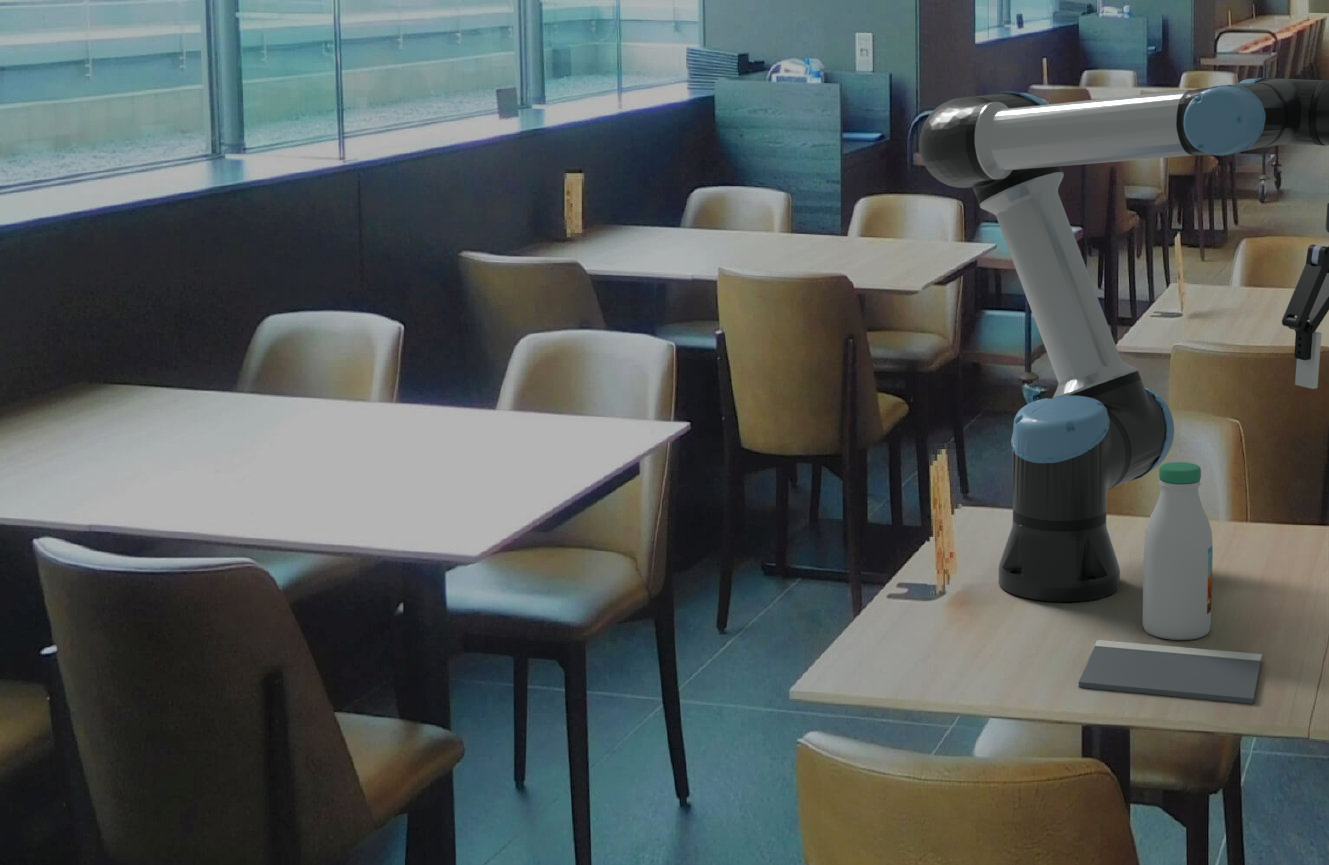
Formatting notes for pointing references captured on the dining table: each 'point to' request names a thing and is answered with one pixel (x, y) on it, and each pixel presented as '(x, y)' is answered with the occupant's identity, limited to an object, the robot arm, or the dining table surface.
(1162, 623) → the milk bottle
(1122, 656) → the mat
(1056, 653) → the dining table surface
